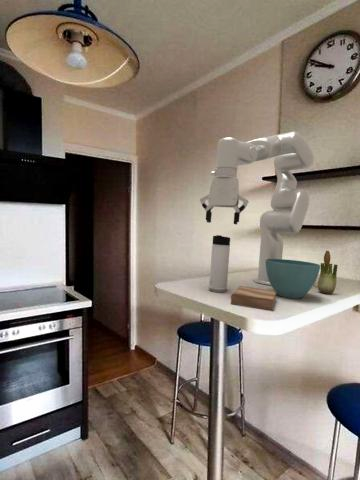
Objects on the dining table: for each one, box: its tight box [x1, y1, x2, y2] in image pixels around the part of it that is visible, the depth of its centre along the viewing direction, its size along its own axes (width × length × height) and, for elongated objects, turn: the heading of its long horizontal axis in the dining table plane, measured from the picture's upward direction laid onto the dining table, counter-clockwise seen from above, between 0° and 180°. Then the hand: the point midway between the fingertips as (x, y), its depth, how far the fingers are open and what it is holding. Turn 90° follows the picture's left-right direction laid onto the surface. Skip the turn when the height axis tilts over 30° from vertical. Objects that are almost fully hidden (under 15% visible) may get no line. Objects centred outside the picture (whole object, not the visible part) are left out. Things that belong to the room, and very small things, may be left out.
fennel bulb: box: [317, 262, 339, 295], centre depth 111 cm, size 6×5×12 cm
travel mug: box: [208, 234, 231, 294], centre depth 103 cm, size 6×7×20 cm
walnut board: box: [230, 285, 277, 312], centre depth 90 cm, size 14×12×3 cm
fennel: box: [314, 250, 337, 289], centre depth 125 cm, size 8×8×16 cm
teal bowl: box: [266, 258, 321, 299], centre depth 103 cm, size 18×18×12 cm
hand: (221, 223), depth 102 cm, fingers open, 9 cm apart
